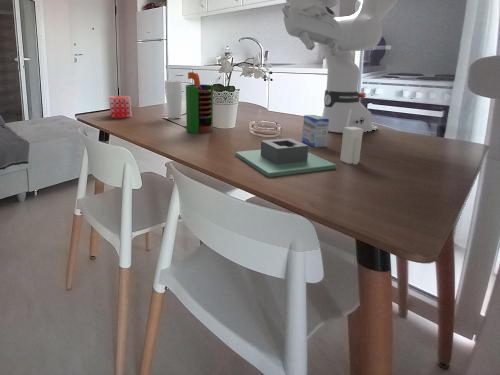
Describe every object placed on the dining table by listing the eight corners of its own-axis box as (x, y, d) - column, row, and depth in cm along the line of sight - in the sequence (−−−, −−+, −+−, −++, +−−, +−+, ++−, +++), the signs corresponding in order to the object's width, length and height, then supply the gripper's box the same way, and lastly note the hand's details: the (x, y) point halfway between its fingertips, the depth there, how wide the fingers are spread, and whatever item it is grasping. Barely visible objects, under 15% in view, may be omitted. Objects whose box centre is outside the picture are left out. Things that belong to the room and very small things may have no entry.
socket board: (294, 149, 110) (295, 132, 109) (335, 168, 93) (337, 149, 92) (235, 155, 103) (235, 137, 101) (268, 177, 86) (269, 156, 84)
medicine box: (301, 141, 120) (303, 115, 117) (313, 140, 122) (315, 114, 119) (314, 147, 113) (316, 119, 110) (326, 146, 115) (329, 118, 112)
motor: (207, 134, 127) (205, 73, 120) (182, 132, 129) (179, 72, 122) (215, 128, 137) (214, 72, 130) (192, 127, 138) (190, 71, 131)
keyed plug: (350, 159, 102) (354, 126, 99) (361, 163, 98) (365, 129, 95) (340, 160, 101) (343, 127, 97) (350, 164, 97) (354, 130, 94)
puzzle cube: (131, 117, 156) (129, 98, 153) (111, 117, 153) (109, 98, 151) (131, 114, 163) (129, 95, 160) (112, 114, 161) (110, 96, 158)
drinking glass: (164, 118, 153) (161, 81, 148) (170, 116, 159) (168, 80, 154) (179, 119, 152) (178, 81, 147) (185, 117, 158) (183, 80, 153)
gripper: (287, -6, 99) (303, 35, 95) (338, 13, 111) (354, 50, 107) (273, 12, 104) (288, 52, 99) (324, 28, 116) (339, 64, 112)
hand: (323, 51), depth 103 cm, fingers open, 8 cm apart
